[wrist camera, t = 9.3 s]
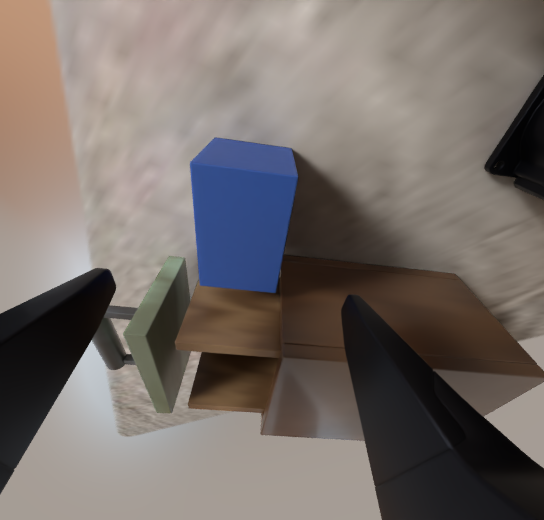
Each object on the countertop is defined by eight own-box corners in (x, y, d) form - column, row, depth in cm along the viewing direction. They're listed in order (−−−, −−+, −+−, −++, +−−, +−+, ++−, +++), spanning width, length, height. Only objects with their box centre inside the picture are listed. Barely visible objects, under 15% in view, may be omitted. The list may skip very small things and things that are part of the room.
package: (214, 137, 14) (188, 161, 10) (292, 148, 14) (299, 176, 10) (216, 239, 18) (199, 286, 14) (276, 246, 18) (276, 293, 14)
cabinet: (264, 340, 26) (260, 435, 19) (280, 254, 19) (282, 356, 12) (393, 351, 27) (434, 445, 20) (455, 273, 20) (551, 378, 13)
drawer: (134, 333, 24) (93, 409, 18) (102, 248, 17) (24, 325, 12) (313, 348, 25) (324, 423, 20) (344, 274, 19) (373, 355, 13)
